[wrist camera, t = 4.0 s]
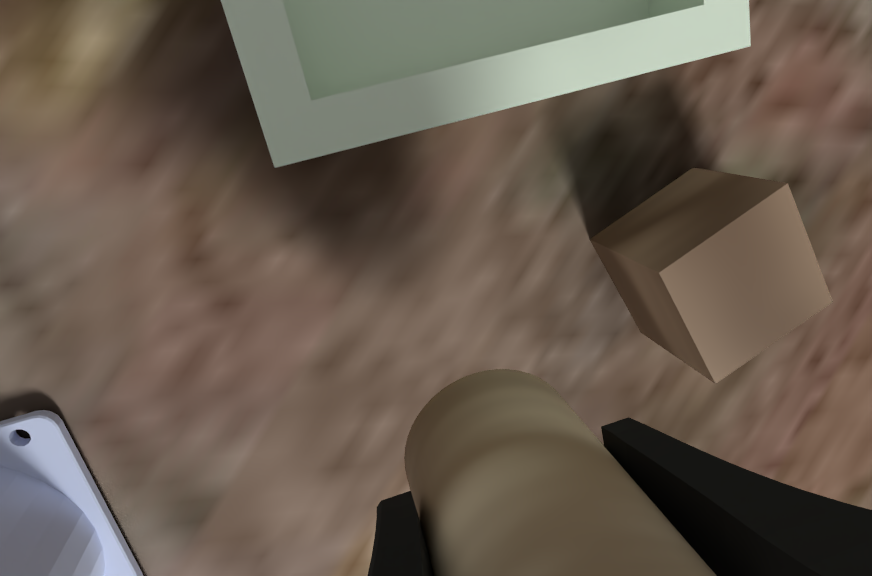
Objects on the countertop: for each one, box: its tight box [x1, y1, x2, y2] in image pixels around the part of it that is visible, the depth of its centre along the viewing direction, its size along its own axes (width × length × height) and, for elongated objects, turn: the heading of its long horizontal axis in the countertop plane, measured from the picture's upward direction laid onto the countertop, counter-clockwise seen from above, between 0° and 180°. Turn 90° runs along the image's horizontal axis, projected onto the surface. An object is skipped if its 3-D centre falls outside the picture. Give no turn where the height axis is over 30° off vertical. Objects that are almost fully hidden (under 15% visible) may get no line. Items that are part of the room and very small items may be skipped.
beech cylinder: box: [404, 369, 717, 576], centre depth 11 cm, size 4×4×6 cm
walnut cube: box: [590, 167, 833, 384], centre depth 18 cm, size 4×4×4 cm
